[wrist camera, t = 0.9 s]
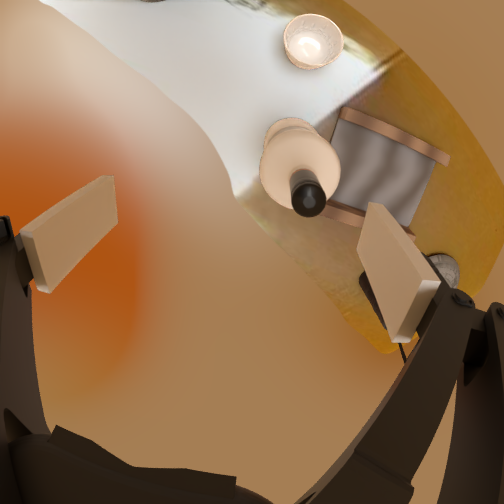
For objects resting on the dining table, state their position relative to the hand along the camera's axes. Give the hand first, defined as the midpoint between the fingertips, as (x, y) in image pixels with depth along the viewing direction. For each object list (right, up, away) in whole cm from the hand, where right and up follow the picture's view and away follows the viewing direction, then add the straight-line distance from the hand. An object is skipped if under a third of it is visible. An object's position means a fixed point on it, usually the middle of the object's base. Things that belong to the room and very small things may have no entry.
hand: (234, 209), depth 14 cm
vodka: (+8, +16, +33) cm, 37 cm away
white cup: (+10, +30, +25) cm, 40 cm away
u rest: (+23, +12, +33) cm, 42 cm away
